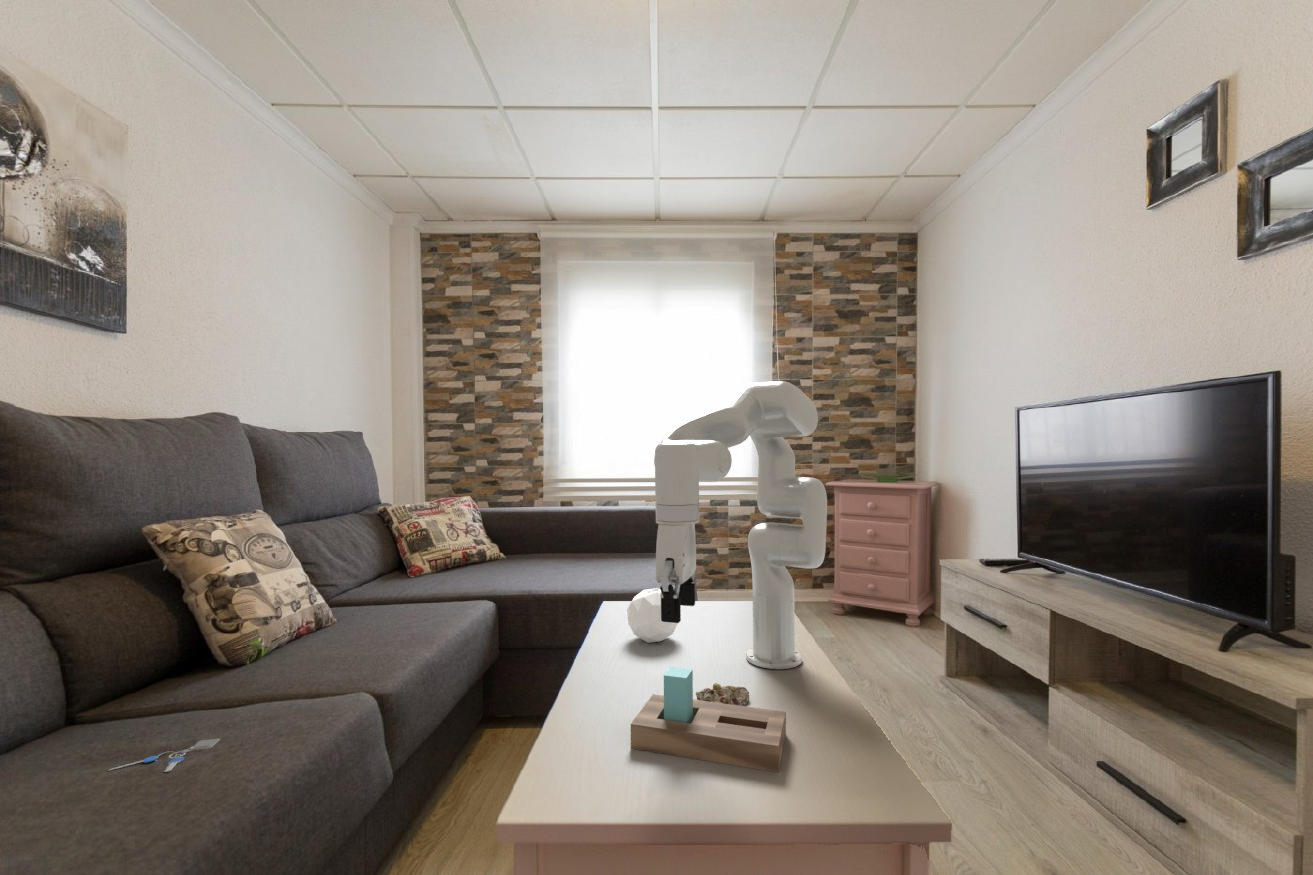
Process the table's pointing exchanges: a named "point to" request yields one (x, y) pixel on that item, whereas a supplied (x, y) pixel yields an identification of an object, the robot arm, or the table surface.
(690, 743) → the bore board
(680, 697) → the square peg
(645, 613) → the geodesic sphere
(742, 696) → the mineral rock
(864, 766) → the table surface
